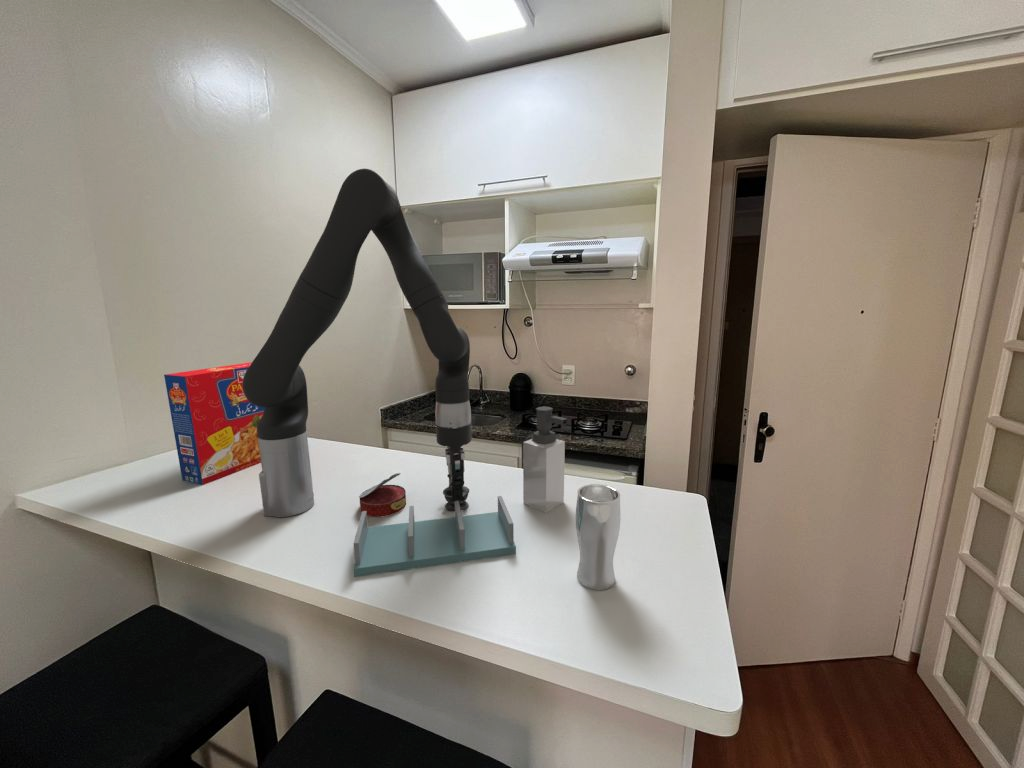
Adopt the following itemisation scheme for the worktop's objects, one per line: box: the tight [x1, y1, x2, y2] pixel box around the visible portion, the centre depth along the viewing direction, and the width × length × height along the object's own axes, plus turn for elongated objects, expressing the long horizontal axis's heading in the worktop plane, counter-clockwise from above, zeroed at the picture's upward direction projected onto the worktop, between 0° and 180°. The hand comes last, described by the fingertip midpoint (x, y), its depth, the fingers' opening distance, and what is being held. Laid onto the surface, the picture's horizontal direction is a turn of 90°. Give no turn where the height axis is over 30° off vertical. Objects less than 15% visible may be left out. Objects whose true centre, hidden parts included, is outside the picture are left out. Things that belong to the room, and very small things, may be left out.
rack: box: [352, 495, 517, 578], centre depth 77 cm, size 28×13×6 cm, turn 103°
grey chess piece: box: [442, 466, 470, 513], centre depth 91 cm, size 6×6×12 cm
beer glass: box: [575, 483, 622, 591], centre depth 66 cm, size 7×7×15 cm
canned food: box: [358, 472, 407, 518], centre depth 91 cm, size 11×10×10 cm
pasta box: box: [163, 361, 265, 486], centre depth 115 cm, size 28×8×28 cm, turn 159°
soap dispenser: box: [522, 406, 568, 514], centre depth 90 cm, size 6×9×22 cm
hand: (456, 493), depth 91 cm, fingers closed on grey chess piece, 6 cm apart
